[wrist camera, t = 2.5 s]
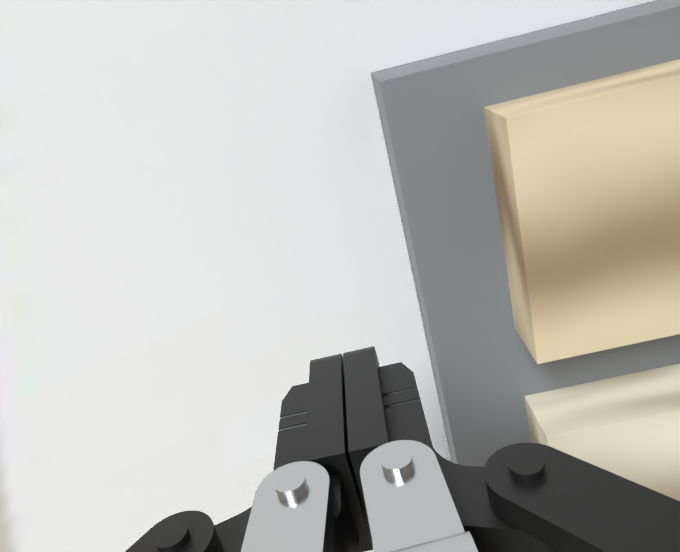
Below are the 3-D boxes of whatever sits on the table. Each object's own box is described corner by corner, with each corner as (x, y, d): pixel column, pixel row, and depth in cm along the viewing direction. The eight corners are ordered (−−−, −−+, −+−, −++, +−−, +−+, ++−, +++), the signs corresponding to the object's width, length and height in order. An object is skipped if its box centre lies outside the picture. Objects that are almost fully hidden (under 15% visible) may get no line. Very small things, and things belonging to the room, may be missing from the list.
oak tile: (483, 107, 18) (505, 118, 16) (678, 59, 18) (730, 63, 16) (514, 328, 22) (537, 364, 19) (682, 292, 21) (726, 323, 19)
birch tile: (524, 396, 23) (546, 437, 20) (683, 362, 22) (724, 401, 20) (545, 547, 26) (567, 598, 23) (686, 520, 25) (722, 570, 23)
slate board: (370, 72, 22) (379, 81, 18) (702, -11, 21) (781, -20, 17) (463, 516, 30) (482, 584, 26) (703, 469, 29) (757, 533, 26)
